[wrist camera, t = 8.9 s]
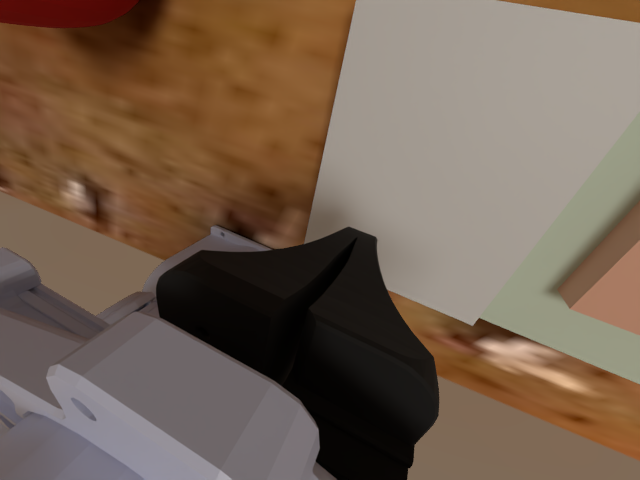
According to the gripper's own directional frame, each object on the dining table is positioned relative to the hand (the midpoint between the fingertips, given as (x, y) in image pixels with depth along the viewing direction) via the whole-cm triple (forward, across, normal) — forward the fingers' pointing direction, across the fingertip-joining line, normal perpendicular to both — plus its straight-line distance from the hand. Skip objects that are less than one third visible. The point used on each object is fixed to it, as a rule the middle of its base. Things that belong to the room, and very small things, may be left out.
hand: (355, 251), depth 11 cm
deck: (+9, -2, -2) cm, 10 cm away
